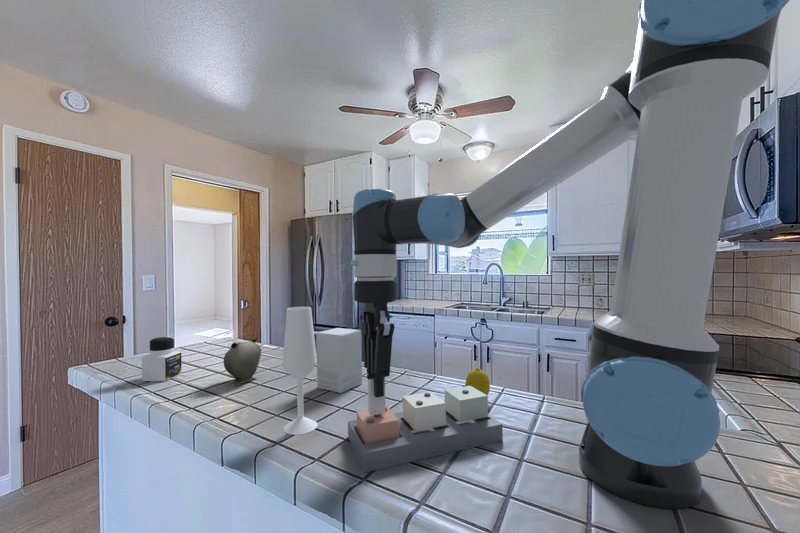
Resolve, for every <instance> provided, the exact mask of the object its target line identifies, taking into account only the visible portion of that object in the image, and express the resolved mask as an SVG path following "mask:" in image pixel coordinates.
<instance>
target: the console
mask: <svg viewBox="0 0 800 533" xmlns="http://www.w3.org/2000/svg"><path fill="white" fill-rule="evenodd" d="M393 413H394V414H395V416H396V417H397V418H398V419H399V438H396V439H391V440H386V441H381V442H376V443H371V444H366V445H363V444H362V442H361V440H360V438H359V436H358V434H357V419H354V420H349V421H348V420H347V437H348V441H349V442H350V444H351V446H352V449H353V450H354V453H355V456H356V457H357V459H358V461H359V463H360V467H361V469H362V471H363V473H368V472H372V471H378V470H381V469H382V470H383V469H386V468H391V467H394V466H398V465H399V466H400V465H403V464H409V463H411V462H416V461H421V460H424V459H430V458H434V457H438V456H442V455H443V456H444V455H446V454H450V453H454V452H455V453H456V452H459V451H465V450H468V449H473V448H476V447H480V446H486V445H489V444H493V443H498V442H502V441H503V440H504V438H503V434H504V433H503V431H504V430H503V423H502V422H500V421H498V420H497V419H496V418H494V417H492V416H491V415H489V414H488V417H484V418H479V419H474V420H469V421H464V422H460V421H458V420H457V419H456V418H455V417H453V416H452V415H451V414H450V413H448V412H447V411H446V425H444V426H439V427H434V428H429V429H424V430H419V431H415V430H414V429H413V428H412V427H411V426H410V425H409V423H408V422H407V421H406V420H405V419H404V418H403V411H400V412H393Z"/></svg>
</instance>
